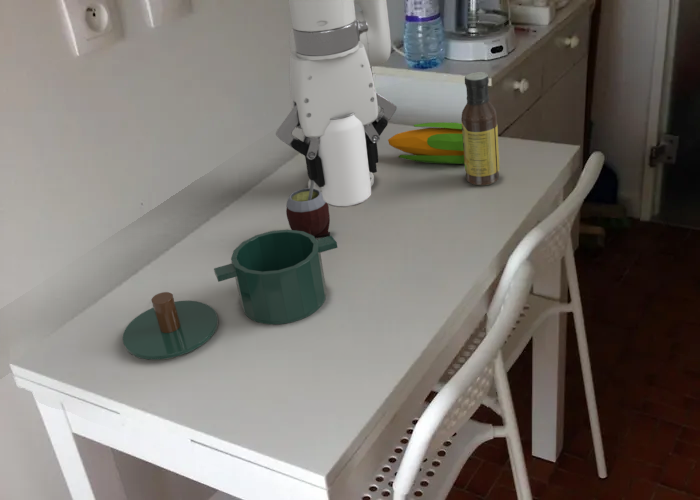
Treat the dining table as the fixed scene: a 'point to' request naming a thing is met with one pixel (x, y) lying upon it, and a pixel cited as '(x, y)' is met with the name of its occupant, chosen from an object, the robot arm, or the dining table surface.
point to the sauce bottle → (480, 132)
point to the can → (344, 162)
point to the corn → (432, 143)
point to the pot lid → (170, 328)
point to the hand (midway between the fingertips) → (344, 175)
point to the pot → (279, 275)
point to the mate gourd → (308, 212)
